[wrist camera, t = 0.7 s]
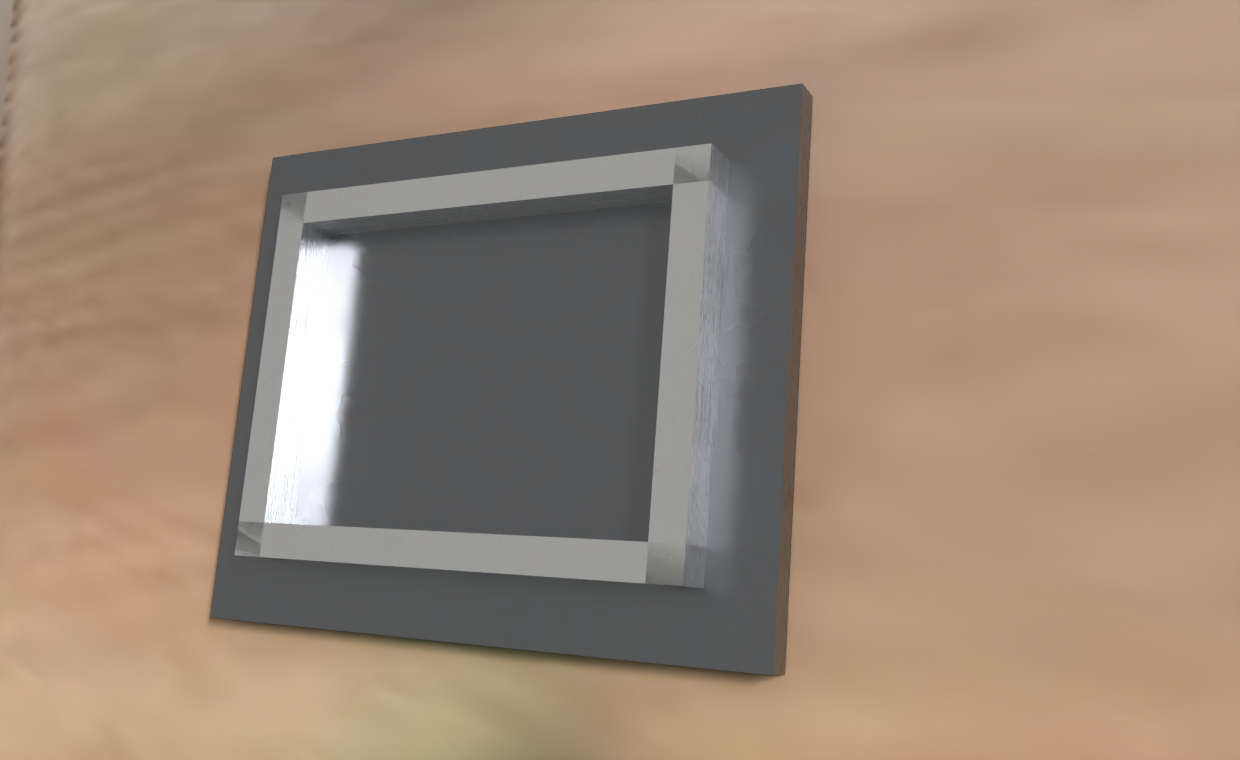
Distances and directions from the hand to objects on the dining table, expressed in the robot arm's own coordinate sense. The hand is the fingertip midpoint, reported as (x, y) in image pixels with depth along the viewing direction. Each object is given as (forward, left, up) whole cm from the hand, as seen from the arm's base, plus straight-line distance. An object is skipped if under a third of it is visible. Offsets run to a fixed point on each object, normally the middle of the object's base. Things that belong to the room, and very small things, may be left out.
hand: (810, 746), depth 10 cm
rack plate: (-8, -19, -23) cm, 31 cm away
